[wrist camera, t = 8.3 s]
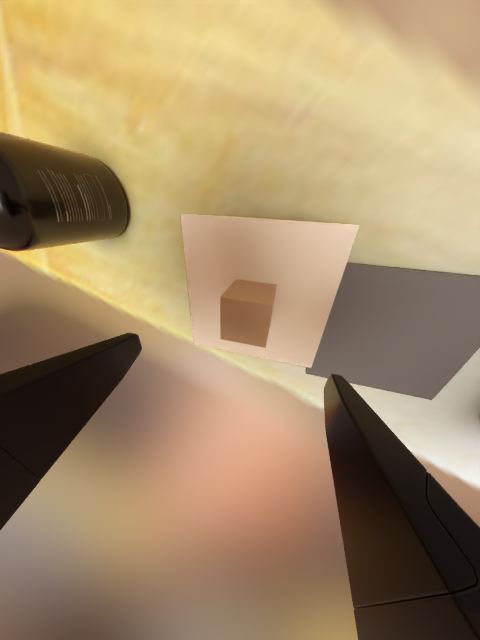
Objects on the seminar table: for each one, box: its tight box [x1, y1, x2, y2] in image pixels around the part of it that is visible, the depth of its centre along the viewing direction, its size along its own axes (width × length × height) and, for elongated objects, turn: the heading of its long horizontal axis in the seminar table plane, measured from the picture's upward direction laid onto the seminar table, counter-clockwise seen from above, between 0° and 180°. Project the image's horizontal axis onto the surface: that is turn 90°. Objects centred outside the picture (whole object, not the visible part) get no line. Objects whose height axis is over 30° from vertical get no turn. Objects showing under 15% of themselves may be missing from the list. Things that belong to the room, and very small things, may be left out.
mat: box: [306, 263, 480, 400], centre depth 18 cm, size 13×13×1 cm
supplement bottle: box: [0, 132, 128, 251], centre depth 13 cm, size 7×7×12 cm
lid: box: [180, 214, 359, 368], centre depth 13 cm, size 11×11×4 cm
